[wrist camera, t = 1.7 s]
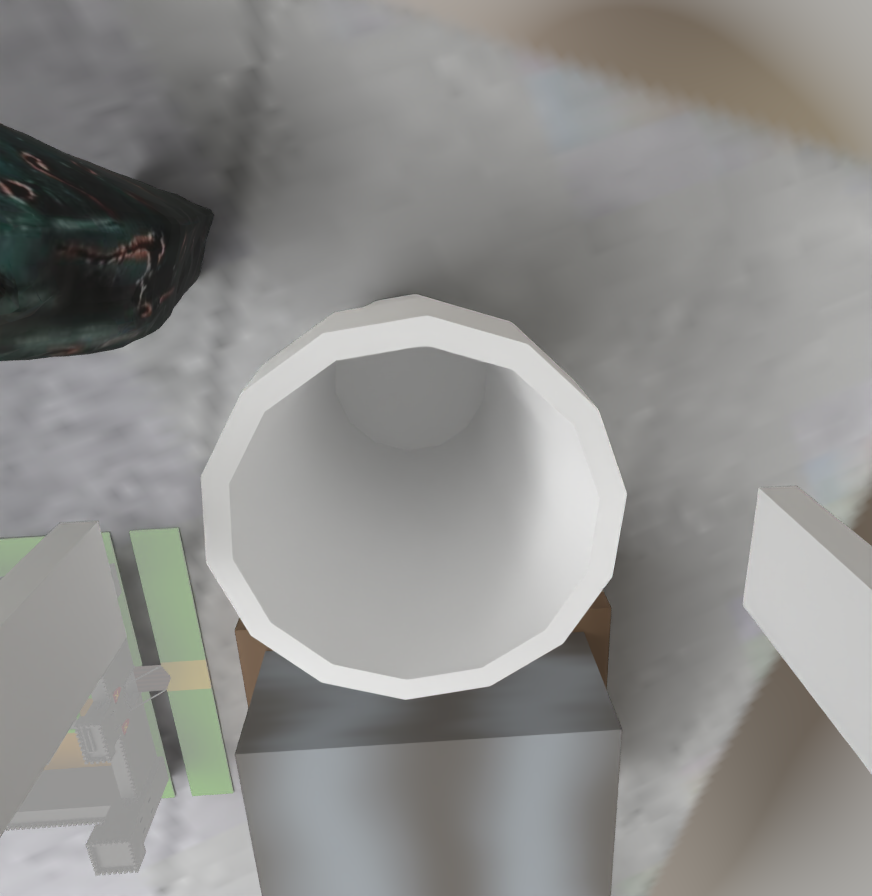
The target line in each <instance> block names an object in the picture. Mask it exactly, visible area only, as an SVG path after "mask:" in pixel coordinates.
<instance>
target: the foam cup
mask: <svg viewBox="0 0 872 896" xmlns="http://www.w3.org/2000/svg"><path fill="white" fill-rule="evenodd" d="M201 491H202V506H203V521H204V537H205V552H206V564H207V565H208V567H209V569H210V570H211V572H212V574H213V575H214V577H215V578H216V580H217V582H218V583H219V585H220V586H221V588H222V590H223V591H224V593H225V595H226V596H227V598H228V599H229V601H230V603H231V604H232V606H233V608H234V609H235V611H236V612H237V614H238V616H239V617H240V619H241V621H242V622H243V624H244V625H245V627H246V629H247V630H248V632H249V634H250V635H251V636H252V637H254V638H255V639H257V640H258V641H260V642H261V643H263V644H264V645H266V646H267V647H269V648H270V649H272V650H273V651H275V652H276V653H278V654H279V655H281V656H282V657H284V658H285V659H287V660H288V661H290V662H291V663H293V664H294V665H296V666H297V667H299V668H300V669H302V670H303V671H305V672H306V673H308V674H309V675H311V676H312V677H314V678H315V679H317V680H318V681H320V682H321V683H326V684H331V685H336V686H341V687H346V688H351V689H355V690H360V691H365V692H370V693H375V694H380V695H385V696H389V697H394V698H399V699H404V700H407V699H414V698H420V697H426V696H432V695H439V694H445V693H451V692H457V691H464V690H470V689H476V688H482V687H489V686H491V685H493V684H495V683H497V682H498V681H500V680H502V679H503V678H505V677H507V676H508V675H510V674H512V673H514V672H515V671H517V670H519V669H520V668H522V667H524V666H526V665H527V664H529V663H531V662H532V661H534V660H536V659H538V658H539V657H541V656H543V655H544V654H546V653H548V652H550V651H551V650H553V649H555V648H556V647H558V646H560V645H562V644H563V643H564V642H565V640H566V639H567V638H568V636H569V635H570V633H571V632H572V631H573V629H574V628H575V627H576V625H577V624H578V623H579V621H580V620H581V619H582V617H583V616H584V614H585V613H586V612H587V610H588V609H589V608H590V606H591V605H592V604H593V602H594V601H595V600H596V598H597V597H598V595H599V594H600V593H601V591H602V590H603V589H604V587H605V586H606V585H607V583H608V582H609V581H610V579H611V578H612V576H613V571H614V565H615V559H616V554H617V548H618V543H619V537H620V531H621V526H622V520H623V514H624V509H625V503H626V497H627V492H626V489H625V486H624V483H623V480H622V477H621V474H620V471H619V468H618V465H617V462H616V459H615V456H614V453H613V450H612V447H611V444H610V441H609V438H608V435H607V432H606V429H605V426H604V424H603V421H602V418H601V415H600V412H599V409H598V408H597V407H596V406H595V405H594V403H593V402H592V401H591V400H590V399H589V397H588V396H587V395H586V394H585V393H584V391H583V390H582V389H581V388H580V387H579V385H578V384H577V383H576V382H575V381H574V380H573V379H572V378H571V377H570V376H569V375H568V374H567V373H566V372H565V371H564V370H563V369H562V368H561V367H560V366H558V365H557V364H556V363H555V362H554V361H553V360H552V359H551V358H550V357H549V356H548V355H547V354H546V353H545V352H543V351H542V350H541V349H540V348H539V347H538V346H537V345H536V344H535V343H534V342H533V341H532V340H531V339H530V338H528V337H527V336H526V335H525V334H524V333H523V332H522V331H521V330H520V329H519V328H518V327H517V326H516V325H514V324H513V323H512V322H511V321H507V320H504V319H500V318H497V317H493V316H490V315H487V314H483V313H480V312H476V311H473V310H469V309H466V308H462V307H459V306H456V305H452V304H449V303H445V302H442V301H439V300H435V299H432V298H428V297H425V296H421V295H418V294H411V295H405V296H400V297H394V298H388V299H382V300H377V301H375V302H373V303H371V304H369V305H367V306H365V307H361V308H355V309H349V310H343V311H338V312H333V313H332V314H331V315H329V316H328V317H327V318H325V319H324V320H323V321H321V322H320V323H318V324H317V325H316V326H314V327H313V328H312V329H310V330H309V331H308V332H306V333H305V334H303V335H302V336H301V337H299V338H298V339H297V340H295V341H294V342H293V343H291V344H290V345H288V346H287V347H286V348H284V349H283V350H282V351H280V352H279V353H278V354H276V355H275V356H274V357H272V358H271V359H269V360H268V361H267V362H265V363H264V364H263V365H262V366H261V367H260V369H259V370H258V371H257V373H256V374H255V375H254V376H253V378H252V379H251V380H250V382H249V383H248V384H247V386H246V387H245V388H244V389H243V391H242V392H241V394H240V396H239V398H238V400H237V402H236V404H235V406H234V408H233V410H232V412H231V414H230V417H229V419H228V421H227V423H226V425H225V427H224V429H223V431H222V433H221V435H220V437H219V439H218V442H217V444H216V446H215V448H214V450H213V452H212V454H211V456H210V458H209V460H208V462H207V464H206V467H205V469H204V471H203V473H202V475H201Z"/></svg>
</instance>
